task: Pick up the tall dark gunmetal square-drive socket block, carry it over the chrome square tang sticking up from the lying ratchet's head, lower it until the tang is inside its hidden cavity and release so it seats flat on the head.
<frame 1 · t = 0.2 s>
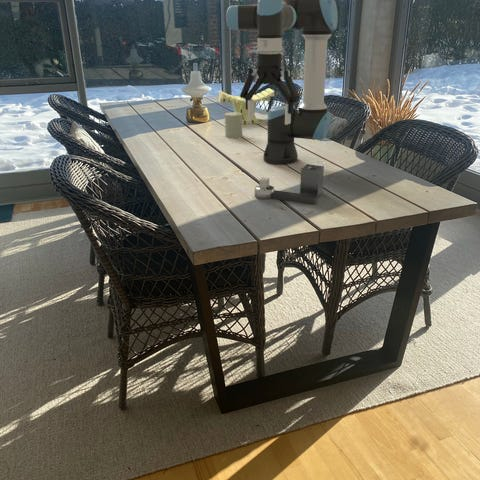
hand: (268, 121, 160), 27 cm above the table, fingers open, 13 cm apart
ratchet: (264, 195, 176), on the table
can: (233, 136, 259), on the table
socket: (311, 194, 177), on the table
slatted curved stool: (246, 121, 292), on the table
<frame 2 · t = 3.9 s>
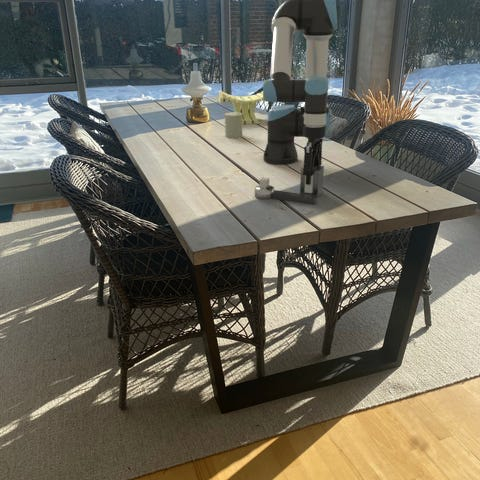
hand: (311, 189, 176), 2 cm above the table, fingers closed on socket, 6 cm apart
socket: (311, 194, 177), on the table, touching gripper
everything else where it was.
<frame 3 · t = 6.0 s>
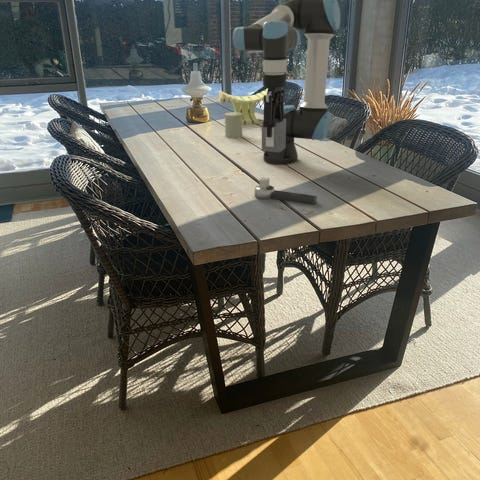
hand: (273, 143, 168), 19 cm above the table, fingers closed on socket, 6 cm apart
socket: (273, 149, 169), point 17 cm above the table, touching gripper
everything else where it was.
when the fingers open (7 cm above the table, at t = 8.6 s): socket drops 2 cm, resting on ratchet.
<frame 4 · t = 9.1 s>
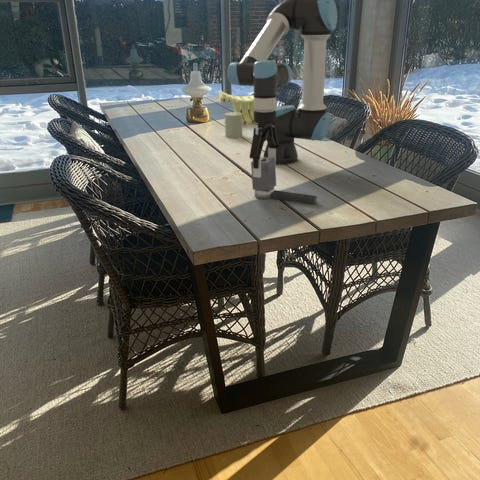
hand: (264, 171, 172), 9 cm above the table, fingers open, 13 cm apart
socket: (264, 187, 175), point 3 cm above the table, touching ratchet
everything else where it was.
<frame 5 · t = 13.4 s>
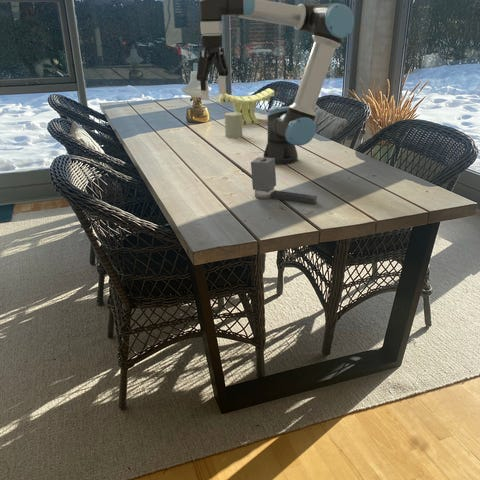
hand: (213, 96, 181), 32 cm above the table, fingers open, 13 cm apart
nothing on the table moved.
at the end: socket 0.0 cm off-centre on the ratchet, point 3.2 cm above the ratchet's base; socket tilted 4°; the gripper is holding nothing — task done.
